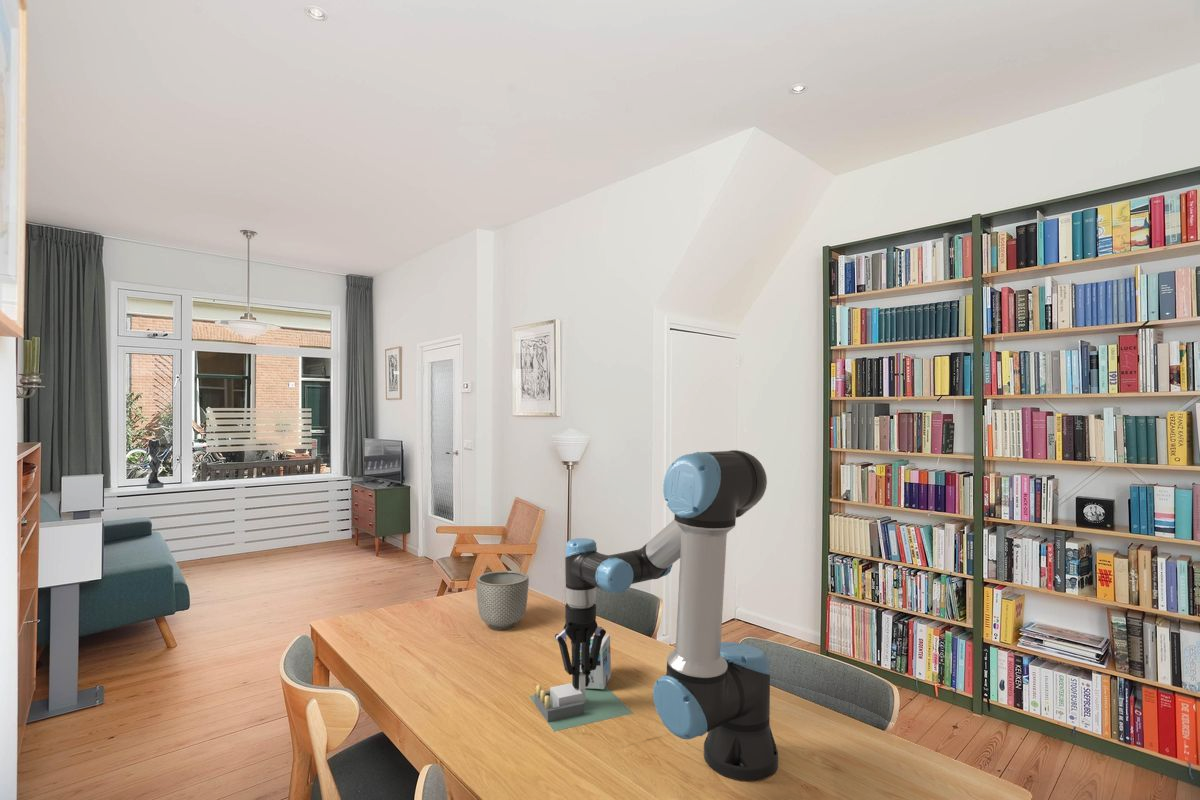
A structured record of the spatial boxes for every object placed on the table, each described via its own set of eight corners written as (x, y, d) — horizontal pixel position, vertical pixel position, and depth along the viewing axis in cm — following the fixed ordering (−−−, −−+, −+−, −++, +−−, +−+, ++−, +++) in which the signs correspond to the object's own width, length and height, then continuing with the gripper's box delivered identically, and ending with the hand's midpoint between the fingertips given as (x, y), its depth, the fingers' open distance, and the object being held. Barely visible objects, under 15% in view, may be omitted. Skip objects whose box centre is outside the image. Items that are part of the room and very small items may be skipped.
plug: (582, 710, 146) (582, 693, 146) (558, 715, 144) (558, 698, 144) (572, 699, 152) (573, 682, 152) (550, 703, 149) (550, 687, 149)
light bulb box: (604, 690, 155) (603, 646, 156) (578, 689, 157) (577, 645, 158) (611, 675, 166) (610, 634, 167) (587, 674, 167) (586, 633, 168)
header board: (633, 715, 145) (633, 691, 145) (553, 734, 137) (553, 708, 137) (601, 683, 161) (601, 662, 161) (528, 698, 153) (528, 676, 153)
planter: (524, 635, 195) (525, 585, 195) (470, 635, 195) (471, 584, 195) (531, 616, 212) (531, 570, 212) (481, 616, 212) (482, 570, 212)
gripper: (598, 595, 155) (598, 688, 155) (550, 602, 150) (550, 698, 150) (611, 604, 149) (611, 701, 148) (561, 611, 143) (560, 712, 143)
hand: (580, 700), depth 149 cm, fingers closed
